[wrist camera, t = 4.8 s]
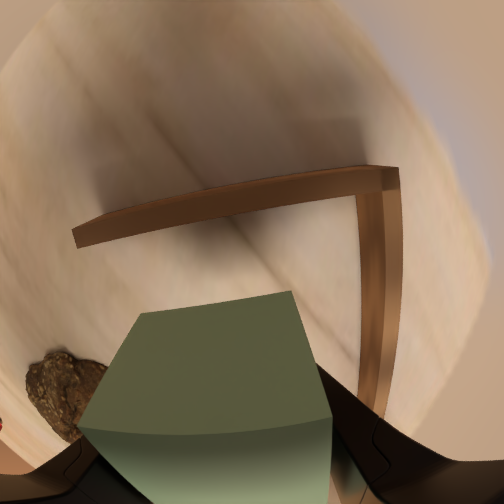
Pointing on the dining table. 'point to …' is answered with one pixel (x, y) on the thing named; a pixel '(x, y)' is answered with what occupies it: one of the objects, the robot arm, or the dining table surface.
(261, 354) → the block
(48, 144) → the dining table surface
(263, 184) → the corral
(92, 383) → the bread roll
